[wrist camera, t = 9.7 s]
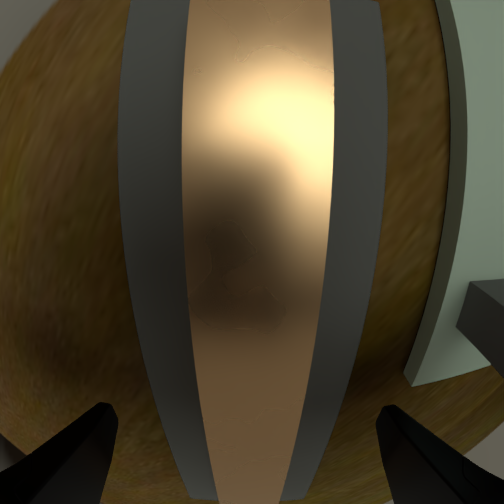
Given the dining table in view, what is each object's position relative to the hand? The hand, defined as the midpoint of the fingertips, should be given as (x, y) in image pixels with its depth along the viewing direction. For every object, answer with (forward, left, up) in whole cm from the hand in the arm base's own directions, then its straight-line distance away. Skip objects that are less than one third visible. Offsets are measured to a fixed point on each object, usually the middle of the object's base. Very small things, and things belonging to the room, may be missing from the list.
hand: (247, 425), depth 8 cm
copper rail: (0, 0, -2) cm, 2 cm away
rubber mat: (0, 0, -3) cm, 3 cm away
